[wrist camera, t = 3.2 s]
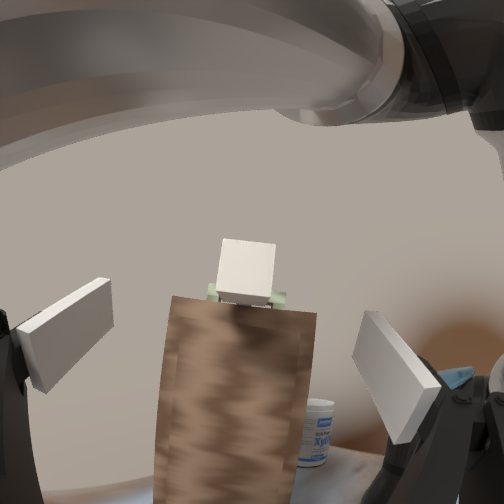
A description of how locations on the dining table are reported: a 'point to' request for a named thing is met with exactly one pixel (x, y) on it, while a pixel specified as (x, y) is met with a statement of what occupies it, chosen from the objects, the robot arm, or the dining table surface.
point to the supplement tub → (316, 432)
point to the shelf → (231, 401)
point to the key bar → (245, 272)
